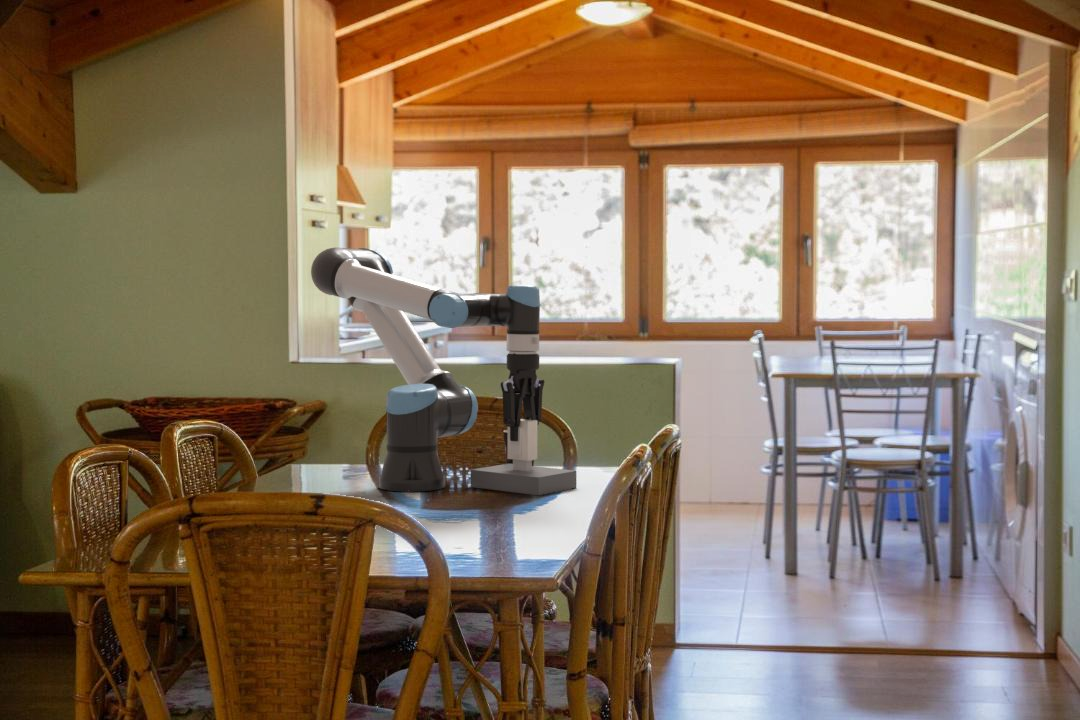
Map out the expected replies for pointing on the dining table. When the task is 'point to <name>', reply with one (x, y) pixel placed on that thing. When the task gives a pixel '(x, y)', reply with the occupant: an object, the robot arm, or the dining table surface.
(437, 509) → the dining table surface
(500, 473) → the header
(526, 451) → the plug
